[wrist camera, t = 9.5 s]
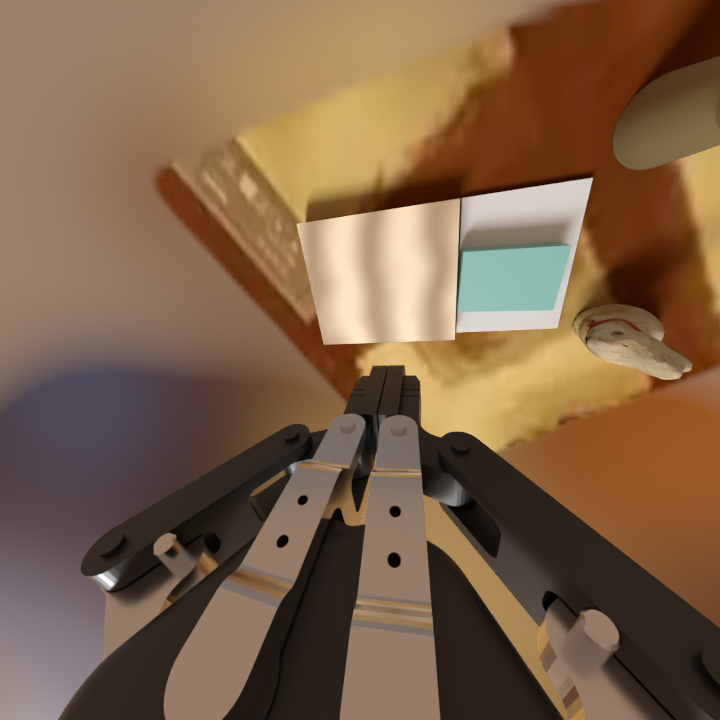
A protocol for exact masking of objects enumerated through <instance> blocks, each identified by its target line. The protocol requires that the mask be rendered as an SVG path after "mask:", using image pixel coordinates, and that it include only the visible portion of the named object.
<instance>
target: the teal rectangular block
mask: <svg viewBox="0 0 720 720" xmlns="http://www.w3.org/2000/svg"><path fill="white" fill-rule="evenodd" d="M571 246H572V245H569V244H565V243H562V242H549V243H533V244H518V245H503V246H487V247H472V248H460V258H459V270H458V281H457V293H456V308H457V311H458V312H486V311H547V310H554V307H555V303H556V299H557V296H558V292H559V289H560V285H561V282H562V278H563V274H564V271H565V267H566V264H567V260H568V256H569V253H570V249H571Z"/></svg>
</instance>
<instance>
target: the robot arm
mask: <svg viewBox="0 0 720 720" xmlns="http://www.w3.org/2000/svg"><path fill="white" fill-rule="evenodd" d="M375 458H376V468H375V470H373V466H374V461H375ZM282 470H284V471H285V473H286V475H285V476H283V477H282V478H280V479H279V480H277V481H276V482H275V483H273V484H272V485H270V486H269V487H267V488H266V489H264V490H263V491H261V492H260V493H258V494H257V495H255V496H250V494H251V493H252V491H253V490H254V489H255V488H257V487H259V486H260V485H262V484H263V483H265V482H266V481H268V480H269V479H270V478H272V477H274V476H275V475H277V474H278V473H279V472H281V471H282ZM368 493H369V499H368V507H367V517H366V524H365V525H361V519H362V515H363V511H364V508H365V504H366V501H367V497H368ZM423 494H424V495H426V496H429V497H431V498H433V499H436V500H438V501H439V504H440V506H441V507H442V509H443V510H444V511H445V513H446V514H447V515H448V516H449V517H450V519H451V520H452V521H453V522H454V524H455V525H456V526H457V527H458V528H459V530H460V531H461V532H462V533H463V534H464V536H465V537H466V538H467V539H468V541H469V542H470V543H471V544H472V546H473V547H474V548H475V549H476V550H477V551H478V553H479V554H480V555H481V556H482V558H483V559H484V560H485V561H486V563H487V564H488V565H489V566H490V567H491V569H492V570H493V571H494V572H495V574H496V575H497V576H498V577H499V578H500V579H501V581H502V582H503V583H504V584H505V586H506V587H507V588H508V589H509V591H510V592H511V593H512V594H513V595H514V597H515V598H516V599H517V600H518V602H519V603H520V604H521V605H522V606H523V608H524V609H525V610H526V611H527V612H528V614H529V615H530V616H531V617H532V619H533V620H534V621H535V622H536V623H537V624H538V626H539V630H538V633H537V649H538V654H539V658H540V660H541V663H542V665H543V668H544V670H545V672H546V674H547V675H548V677H549V678H550V680H551V681H552V683H553V685H554V686H555V688H556V690H557V691H558V693H559V695H560V697H561V699H562V701H563V704H564V707H565V709H566V712H567V716H568V719H569V720H720V628H719V627H718V626H716V625H715V624H714V623H713V622H711V621H710V620H709V619H707V618H706V617H705V616H704V615H702V614H701V613H700V612H698V611H697V610H696V609H695V608H693V607H692V606H691V605H689V604H688V603H687V602H686V601H684V600H683V599H682V598H680V597H679V596H678V595H677V594H675V593H674V592H673V591H671V590H670V589H669V588H668V587H666V586H665V585H664V584H663V583H661V582H660V581H659V580H657V579H656V578H655V577H654V576H652V575H651V574H650V573H648V572H647V571H646V570H645V569H643V568H642V567H641V566H639V565H638V564H637V563H636V562H634V561H633V560H632V559H630V558H629V557H628V556H627V555H625V554H624V553H623V552H621V551H620V550H619V549H618V548H617V547H615V546H614V545H613V544H611V543H610V542H609V541H607V540H606V539H605V538H604V537H602V536H601V535H600V534H599V533H597V532H596V531H595V530H593V529H592V528H591V527H590V526H588V525H587V524H586V523H584V522H583V521H582V520H581V519H579V518H578V517H577V516H576V515H574V514H573V513H572V512H570V511H569V510H568V509H567V508H565V507H564V506H563V505H561V504H560V503H559V502H558V501H556V500H555V499H554V498H553V497H551V496H550V495H549V494H547V493H546V492H545V491H544V490H542V489H541V488H540V487H538V486H537V485H536V484H535V483H533V482H532V481H531V480H529V479H528V478H527V477H526V476H524V475H523V474H522V473H521V472H519V471H518V470H517V469H515V468H514V467H513V466H512V465H510V464H509V463H508V462H506V461H505V460H504V459H503V458H501V457H500V456H499V455H497V454H496V453H495V452H494V451H492V450H491V449H490V448H489V447H487V446H486V445H485V444H483V443H482V442H481V441H480V440H478V439H477V438H476V437H474V436H472V435H470V434H468V433H464V432H451V433H447V434H445V435H444V436H443V437H441V438H440V437H437V436H434V435H431V434H429V433H428V432H426V431H425V430H424V429H423V428H422V427H421V393H420V381H419V380H418V378H417V377H416V376H406V375H405V366H404V365H390V366H373V367H372V370H371V373H370V376H362V377H361V378H360V379H359V380H358V381H356V383H355V386H354V388H353V391H352V393H351V396H350V399H349V401H348V404H347V406H346V409H345V412H344V414H343V415H341V416H339V417H337V418H336V419H335V420H334V421H333V422H332V423H331V425H330V427H329V429H326V430H323V431H318V432H313V433H310V431H309V429H308V428H307V427H306V426H305V425H302V424H294V425H290V426H287V427H285V428H283V429H281V430H280V431H278V432H276V433H274V434H273V435H271V436H270V437H268V438H266V439H264V440H263V441H261V442H259V443H258V444H256V445H254V446H253V447H251V448H249V449H247V450H246V451H244V452H242V453H241V454H239V455H237V456H236V457H234V458H232V459H230V460H229V461H227V462H225V463H224V464H222V465H220V466H218V467H217V468H215V469H213V470H212V471H210V472H208V473H206V474H205V475H203V476H201V477H200V478H198V479H196V480H195V481H193V482H191V483H189V484H188V485H186V486H184V487H183V488H181V489H179V490H178V491H176V492H174V493H172V494H171V495H169V496H167V497H166V498H164V499H162V500H160V501H159V502H157V503H155V504H154V505H152V506H150V507H149V508H147V509H145V510H144V511H142V512H140V513H139V514H137V515H135V516H133V517H132V518H130V519H128V520H126V521H125V522H123V523H121V524H120V525H118V526H116V527H115V528H113V529H111V530H110V531H108V532H107V533H106V534H104V535H103V536H102V537H101V538H100V539H99V540H98V541H97V542H96V543H95V544H94V545H93V546H92V547H91V548H90V550H89V551H88V552H87V554H86V555H85V557H84V559H83V561H82V565H81V572H82V573H83V574H84V575H85V576H86V577H88V578H89V579H90V580H92V581H93V582H94V583H95V584H97V585H98V586H99V587H100V589H101V590H102V591H103V592H104V593H105V594H106V608H105V628H104V646H103V662H102V663H101V664H100V665H99V666H98V667H97V668H96V669H95V670H94V671H93V672H92V674H91V675H90V676H89V677H88V678H87V679H86V680H85V682H84V683H83V684H82V686H81V687H80V688H79V689H78V691H77V692H76V693H75V695H74V696H73V698H72V699H71V700H70V702H69V703H68V705H67V706H66V708H65V709H64V711H63V713H62V715H61V716H60V718H59V719H58V720H564V719H563V717H562V716H561V714H560V713H559V712H558V710H557V708H556V707H555V706H554V704H553V703H552V701H551V700H550V698H549V697H548V695H547V694H546V692H545V691H544V689H543V688H542V687H541V685H540V684H539V682H538V681H537V679H536V678H535V676H534V675H533V674H532V672H531V671H530V669H529V668H528V666H527V665H526V663H525V662H524V660H523V659H522V657H521V656H520V655H519V653H518V652H517V650H516V649H515V647H514V646H513V644H512V643H511V641H510V640H509V638H508V637H507V636H506V634H505V633H504V631H503V630H502V628H501V627H500V625H499V624H498V623H497V621H496V620H495V618H494V617H493V615H492V614H491V612H490V611H489V609H488V608H487V607H486V605H485V604H484V602H483V601H482V599H481V598H480V596H479V595H478V593H477V592H476V590H475V589H474V588H473V586H472V585H471V583H470V582H469V580H468V579H467V577H466V576H465V574H464V573H463V572H462V570H461V569H460V568H459V567H458V565H457V564H456V563H455V562H454V561H453V560H452V558H450V557H449V556H448V555H447V554H446V553H445V552H444V551H443V550H441V549H440V548H439V547H438V546H436V545H434V544H433V543H431V542H429V541H427V540H426V530H425V529H426V528H425V514H424V502H423Z"/></svg>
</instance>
